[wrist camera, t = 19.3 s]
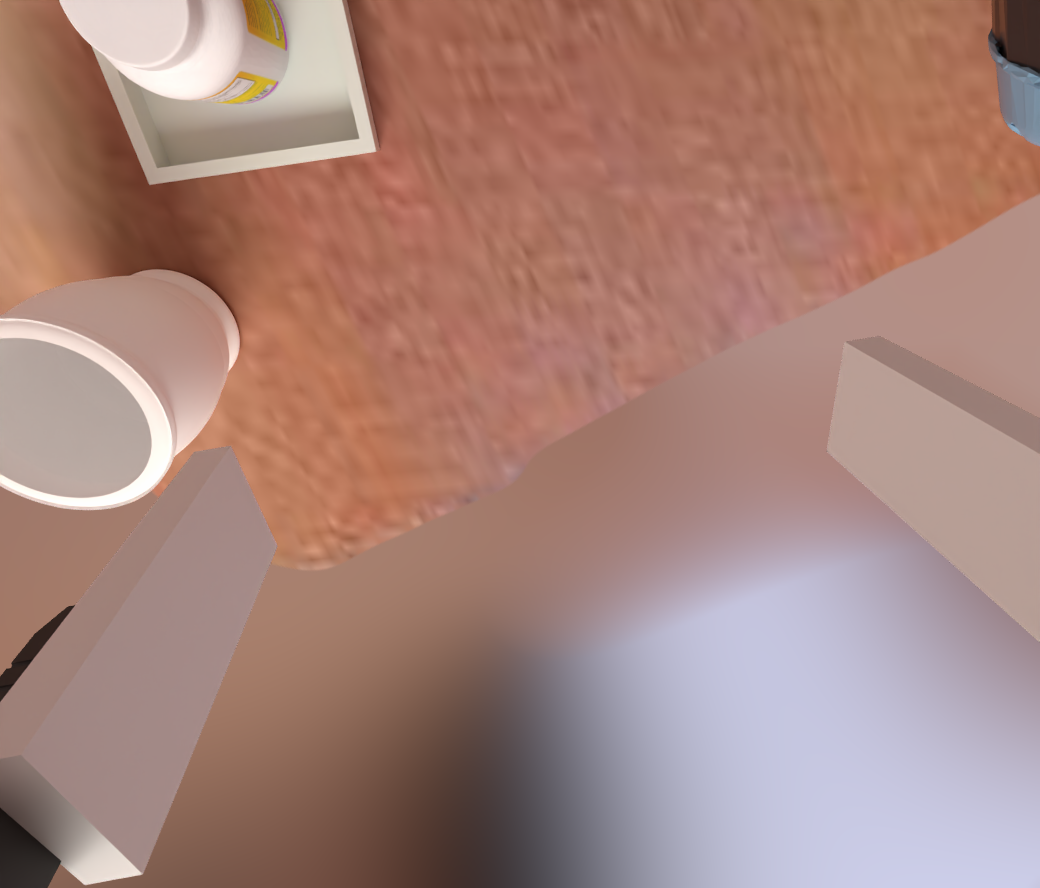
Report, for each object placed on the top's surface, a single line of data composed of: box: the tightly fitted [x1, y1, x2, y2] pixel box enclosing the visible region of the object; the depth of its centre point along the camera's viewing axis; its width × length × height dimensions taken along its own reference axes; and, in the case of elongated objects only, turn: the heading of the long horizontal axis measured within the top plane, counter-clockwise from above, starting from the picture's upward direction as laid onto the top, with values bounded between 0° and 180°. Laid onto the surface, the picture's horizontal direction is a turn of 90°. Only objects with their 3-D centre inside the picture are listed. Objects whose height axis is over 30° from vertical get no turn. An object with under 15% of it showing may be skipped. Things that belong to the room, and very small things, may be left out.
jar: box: [0, 269, 240, 510], centre depth 34 cm, size 11×10×15 cm
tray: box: [91, 0, 380, 185], centre depth 32 cm, size 14×14×2 cm
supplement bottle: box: [59, 0, 289, 104], centre depth 27 cm, size 7×7×13 cm
